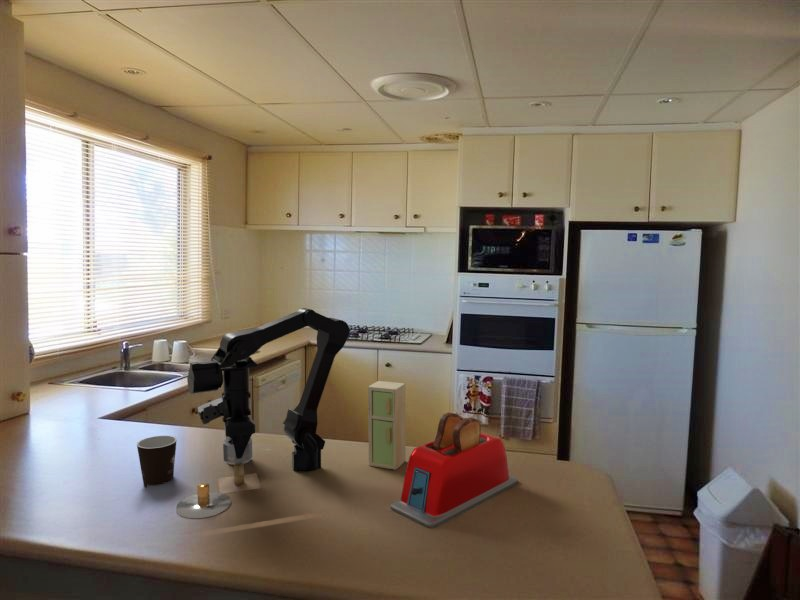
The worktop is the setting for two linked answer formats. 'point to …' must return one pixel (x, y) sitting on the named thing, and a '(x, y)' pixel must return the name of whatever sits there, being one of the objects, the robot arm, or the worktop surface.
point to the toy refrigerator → (386, 424)
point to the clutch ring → (230, 453)
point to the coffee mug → (157, 459)
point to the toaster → (453, 472)
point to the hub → (203, 503)
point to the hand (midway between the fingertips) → (237, 453)
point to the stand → (238, 481)
